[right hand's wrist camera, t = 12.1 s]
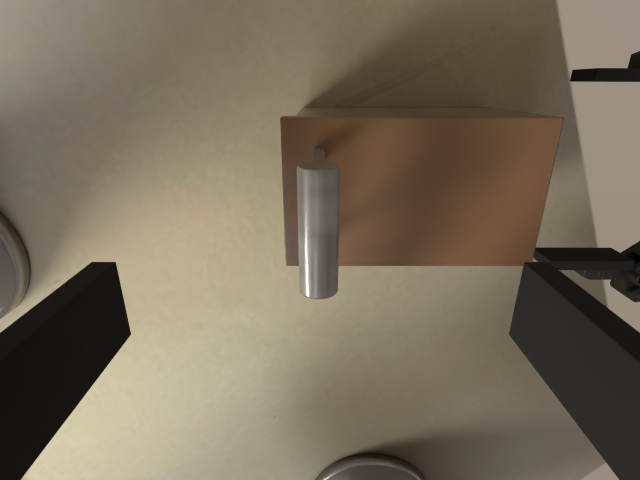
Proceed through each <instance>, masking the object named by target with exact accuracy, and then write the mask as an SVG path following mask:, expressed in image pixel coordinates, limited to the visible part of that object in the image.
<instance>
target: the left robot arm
mask: <svg viewBox="0 0 640 480" xmlns="http://www.w3.org/2000/svg"><path fill="white" fill-rule="evenodd" d="M570 81H594V82H596V81H597V82H598V81H599V82H640V51H639V52H636V53H634V54H632V55H631V58H630V61H629V65H628V68H596V69H580V70H573V71H572V75H571V79H570ZM533 258H535V259H536V260H537V261H538V262H549V263H550V264H551V265H552V266H554V267H555V268H556V269H558V270H574V271H576V272H577V273H579V274H580V275H581V276H583V277H585V278H587V279H612V280H611V282H610V285H611V286H612V287H613V288H614V289H616V290H617V291H619V292H620V293H622V294H623V295H625V296H626V297H627V298H629V299H631V300H632V301H634V302H639V301H640V241H639V242H637V243H636V244H634V245H633V246H631V247H629V248H628V249H626V250H625V251H623V252H621V253H619V252H617V251H616V250H614V249H612V248H535V251H534V256H533ZM316 480H425V479H424V477H423V476H422V475H421V473H420V472H419V471H418V470H417V469H416V468H414V467H413V466H412V465H410V464H408V463H407V462H405V461H402V460H400V459H397V458H394V457H390V456H385V455H374V454H370V455H359V456H353V457H349V458H346V459H343V460H341V461H338V462H336V463H334V464H332V465H331V466H329V467H328V468H326V469H325V470H324V471H323V472H322V473H321V474H320V475H319V476H318V477H317V478H316Z"/></svg>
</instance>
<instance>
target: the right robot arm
mask: <svg viewBox="0 0 640 480" xmlns="http://www.w3.org/2000/svg"><path fill="white" fill-rule="evenodd" d="M28 283H29V264H28V259H27V255H26V252H25V249H24V247H23V244H22V242H21V240H20V238H19V237H18V235H17V234H16V232H15V230H14V229H13V228H12V226H11V225H10V224H9V222H8V221H7V220H6V219H5V218H4V217H3V216H2V215H1V214H0V319H1V318H2V317H3V316H5V315H6V314H7V313H9V312H10V311H12V310H13V309H14V308H15V307H16V306H17V305H18V304H19V303H20V302H21V300H22V299H23V297H24V295H25V293H26V291H27V287H28ZM130 335H131V332H130V327H129V323H128V318H127V313H126V309H125V304H124V299H123V294H122V290H121V285H120V280H119V276H118V271H117V266H116V262H91V263H90V264H89V265H88V266H86V267H85V268H84V269H82V270H81V271H80V272H78V273H77V274H76V275H75V276H73V277H72V278H71V279H69V280H68V281H67V282H66V283H64V284H63V285H62V286H60V287H59V288H58V289H56V290H55V291H54V292H53V293H51V294H50V295H49V296H47V297H46V298H45V299H44V300H42V301H41V302H40V303H38V304H37V305H36V306H34V307H33V308H32V309H31V310H29V311H28V312H27V313H25V314H24V315H23V316H22V317H20V318H19V319H18V320H16V321H15V322H14V323H12V324H11V325H10V326H9V327H7V328H6V329H5V330H3V331H2V332H1V333H0V480H21V478H22V477H23V476H24V474H25V473H26V472H27V470H28V469H29V468H30V467H31V465H32V464H33V463H34V461H35V460H36V459H37V457H38V456H39V455H40V453H41V452H42V451H43V449H44V448H45V447H46V445H47V444H48V443H49V442H50V440H51V439H52V438H53V436H54V435H55V434H56V432H57V431H58V430H59V428H60V427H61V426H62V424H63V423H64V422H65V420H66V419H67V418H68V417H69V415H70V414H71V413H72V411H73V410H74V409H75V407H76V406H77V405H78V403H79V402H80V401H81V399H82V398H83V397H84V395H85V394H86V393H87V392H88V390H89V389H90V388H91V386H92V385H93V384H94V382H95V381H96V380H97V378H98V377H99V376H100V374H101V373H102V372H103V370H104V369H105V368H106V367H107V365H108V364H109V363H110V361H111V360H112V359H113V357H114V356H115V355H116V353H117V352H118V351H119V349H120V348H121V347H122V346H123V344H124V343H125V342H126V340H127V339H128V338H129V336H130ZM509 335H510V336H511V338H512V339H513V340H514V342H515V343H516V344H517V346H518V347H519V348H520V349H521V351H522V352H523V353H524V355H525V356H526V357H527V359H528V360H529V361H530V363H531V364H532V365H533V367H534V368H535V369H536V370H537V372H538V373H539V374H540V376H541V377H542V378H543V380H544V381H545V382H546V384H547V385H548V386H549V388H550V389H551V390H552V392H553V393H554V394H555V395H556V397H557V398H558V399H559V401H560V402H561V403H562V405H563V406H564V407H565V409H566V410H567V411H568V413H569V414H570V415H571V417H572V418H573V419H574V420H575V422H576V423H577V424H578V426H579V427H580V428H581V430H582V431H583V432H584V434H585V435H586V436H587V438H588V439H589V440H590V442H591V443H592V444H593V445H594V447H595V448H596V449H597V451H598V452H599V453H600V455H601V456H602V457H603V459H604V460H605V461H606V463H607V464H608V465H609V467H610V468H611V469H612V470H613V472H614V473H615V474H616V476H617V477H618V478H619V480H640V333H639V332H638V331H637V330H635V329H634V328H633V327H631V326H630V325H629V324H627V323H626V322H625V321H624V320H622V319H621V318H620V317H618V316H617V315H616V314H615V313H613V312H612V311H611V310H609V309H608V308H607V307H606V306H604V305H603V304H602V303H600V302H599V301H598V300H596V299H595V298H594V297H593V296H591V295H590V294H589V293H587V292H586V291H585V290H584V289H582V288H581V287H580V286H578V285H577V284H576V283H574V282H573V281H572V280H571V279H569V278H568V277H567V276H565V275H564V274H563V273H562V272H560V271H559V270H558V269H556V268H555V267H554V266H552V265H551V264H550V263H549V262H524V266H523V271H522V276H521V280H520V285H519V290H518V294H517V299H516V304H515V309H514V313H513V318H512V323H511V327H510V332H509Z"/></svg>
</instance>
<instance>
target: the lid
mask: <svg viewBox="0 0 640 480" xmlns="http://www.w3.org/2000/svg"><path fill="white" fill-rule="evenodd" d="M280 120H281V148H282V176H283V204H284V232H285V260H286V266H299V289H300V292H301V294H302V295H304V296H306V297H308V298H312V299H325V298H329V297H332V296H334V295H335V294H336V293H337V291H338V266H524V262H532V261H533V256H534V251H535V247H536V242H537V238H538V233H539V229H540V224H541V220H542V215H543V211H544V206H545V202H546V197H547V192H548V188H549V183H550V179H551V174H552V170H553V165H554V161H555V156H556V152H557V147H558V143H559V138H560V134H561V129H562V124H563V120H564V118H563V117H555V116H282V117H281V118H280Z"/></svg>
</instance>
